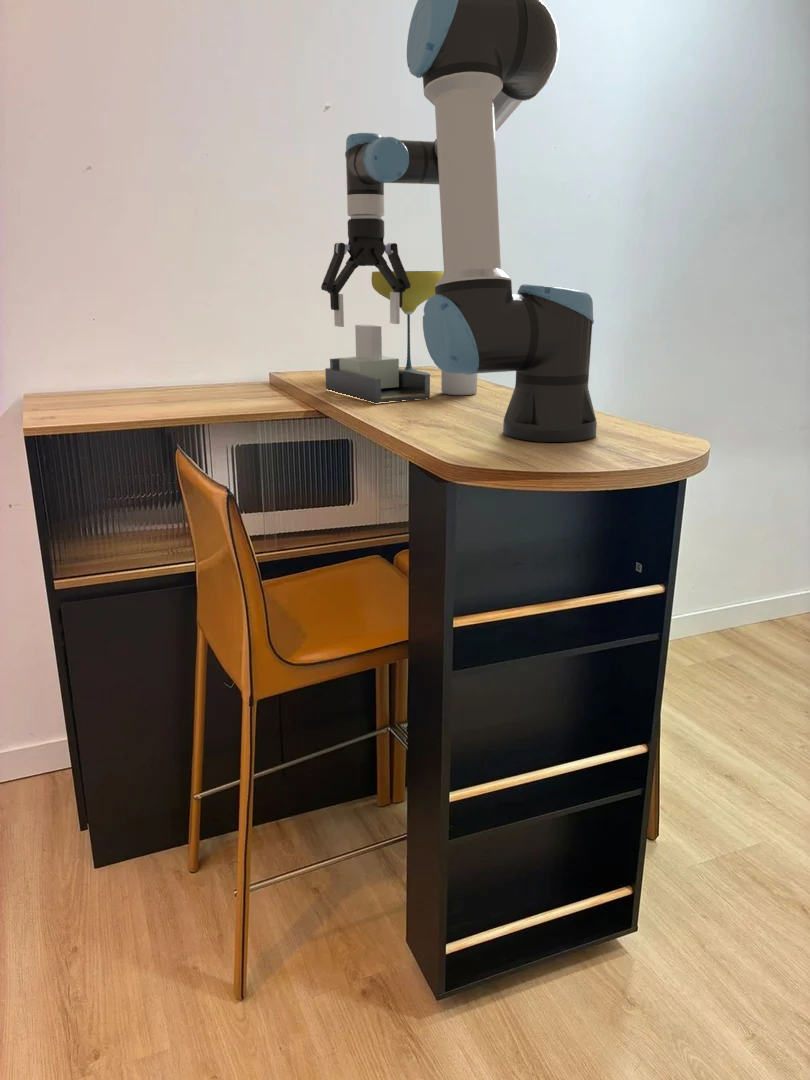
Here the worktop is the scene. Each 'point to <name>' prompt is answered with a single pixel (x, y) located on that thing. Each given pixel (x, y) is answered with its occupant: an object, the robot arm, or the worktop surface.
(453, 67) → the robot arm
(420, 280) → the cocktail glass
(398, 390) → the bay
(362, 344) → the block with upright handle
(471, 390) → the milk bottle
